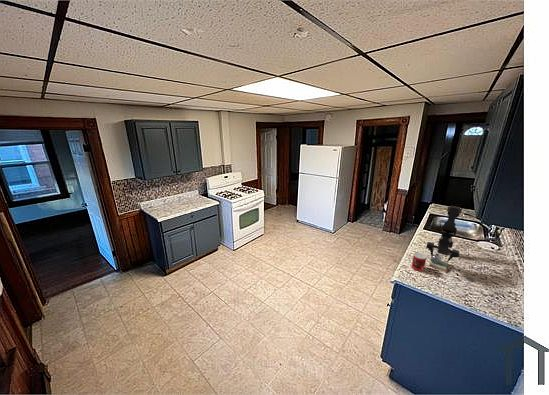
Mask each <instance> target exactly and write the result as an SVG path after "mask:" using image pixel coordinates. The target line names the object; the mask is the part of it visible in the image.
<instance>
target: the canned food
mask: <svg viewBox="0 0 549 395" xmlns="http://www.w3.org/2000/svg"><path fill="white" fill-rule="evenodd" d="M427 258H428V257H427V255H426V254H425V253H422V252H418V251H415V252H414V253H413V257H412V261H411V268H412V270H414V271H416V272H423V271H424V269H425V266H426V261H427Z"/></svg>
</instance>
